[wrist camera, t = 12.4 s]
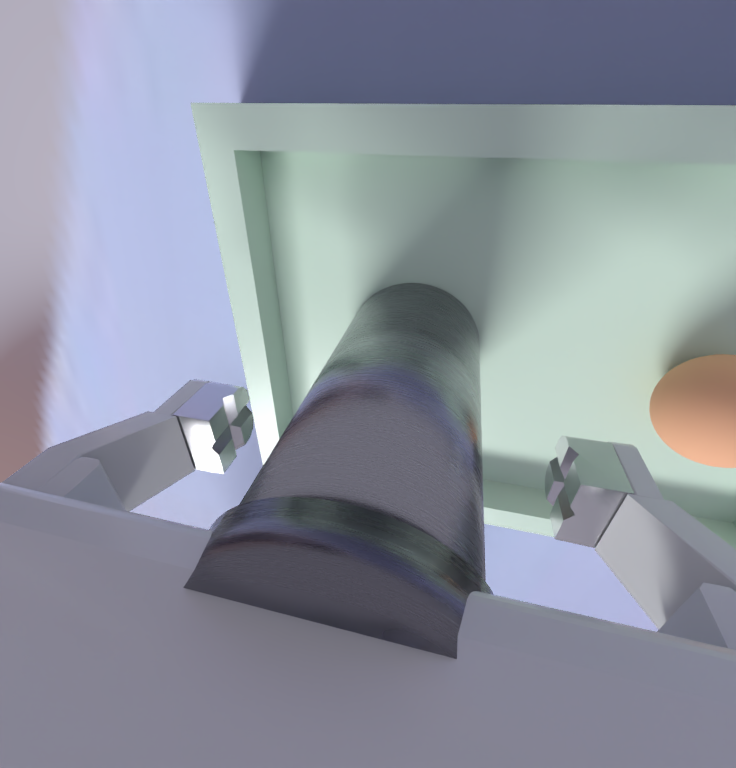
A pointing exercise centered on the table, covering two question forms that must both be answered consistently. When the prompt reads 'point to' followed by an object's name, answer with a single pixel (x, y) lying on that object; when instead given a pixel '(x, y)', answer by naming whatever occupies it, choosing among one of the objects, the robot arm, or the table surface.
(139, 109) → the table surface
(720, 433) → the ball
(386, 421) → the shaker
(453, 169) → the tray
